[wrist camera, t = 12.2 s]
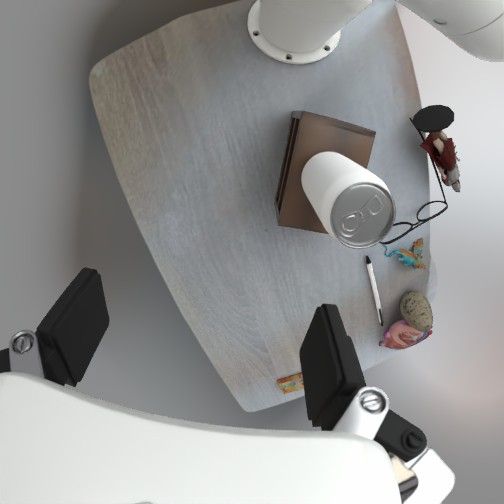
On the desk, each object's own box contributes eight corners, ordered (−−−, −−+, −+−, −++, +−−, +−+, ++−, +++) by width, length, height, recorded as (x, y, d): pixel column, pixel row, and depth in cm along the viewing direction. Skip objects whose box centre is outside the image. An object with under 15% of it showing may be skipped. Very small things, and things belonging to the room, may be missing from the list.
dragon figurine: (382, 282, 46) (422, 282, 42) (381, 261, 41) (427, 260, 37) (382, 252, 49) (420, 251, 46) (381, 229, 44) (424, 228, 40)
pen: (379, 324, 52) (381, 328, 51) (363, 254, 44) (365, 257, 43) (383, 323, 52) (385, 326, 51) (368, 252, 44) (370, 255, 43)
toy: (326, 371, 57) (330, 381, 60) (324, 365, 59) (329, 375, 61) (277, 386, 60) (284, 395, 62) (276, 379, 62) (283, 389, 64)
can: (288, 174, 30) (307, 211, 20) (332, 139, 28) (375, 159, 17) (322, 214, 32) (352, 267, 22) (363, 182, 30) (412, 222, 20)
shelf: (274, 203, 40) (278, 225, 33) (292, 110, 33) (302, 110, 26) (331, 214, 41) (345, 237, 34) (353, 126, 34) (376, 131, 27)
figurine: (459, 106, 24) (478, 182, 32) (418, 103, 30) (445, 173, 38) (445, 133, 24) (465, 211, 32) (401, 128, 30) (430, 199, 39)
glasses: (372, 236, 42) (382, 248, 38) (332, 156, 38) (340, 158, 33) (437, 198, 38) (453, 206, 34) (405, 118, 34) (420, 117, 29)
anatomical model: (367, 332, 56) (411, 347, 57) (369, 353, 51) (415, 365, 52) (397, 302, 50) (440, 320, 50) (402, 323, 45) (447, 339, 46)
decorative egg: (390, 307, 50) (409, 342, 41) (400, 283, 47) (422, 317, 38) (413, 306, 50) (432, 339, 41) (423, 284, 47) (446, 316, 39)
